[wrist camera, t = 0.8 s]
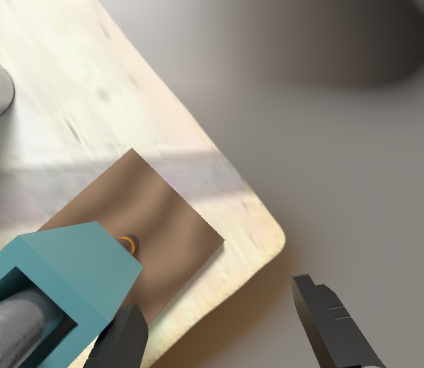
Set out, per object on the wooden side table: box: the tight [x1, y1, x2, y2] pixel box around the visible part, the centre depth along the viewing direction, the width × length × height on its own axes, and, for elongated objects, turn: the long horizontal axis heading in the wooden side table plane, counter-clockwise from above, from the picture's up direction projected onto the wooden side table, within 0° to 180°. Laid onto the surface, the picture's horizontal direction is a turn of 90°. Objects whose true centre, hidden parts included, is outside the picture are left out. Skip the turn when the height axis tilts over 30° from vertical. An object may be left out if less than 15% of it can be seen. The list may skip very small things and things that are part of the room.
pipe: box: [0, 234, 139, 368], centre depth 15 cm, size 3×3×24 cm
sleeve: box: [0, 221, 143, 368], centre depth 12 cm, size 5×5×8 cm
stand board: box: [36, 148, 225, 325], centre depth 28 cm, size 18×18×2 cm
